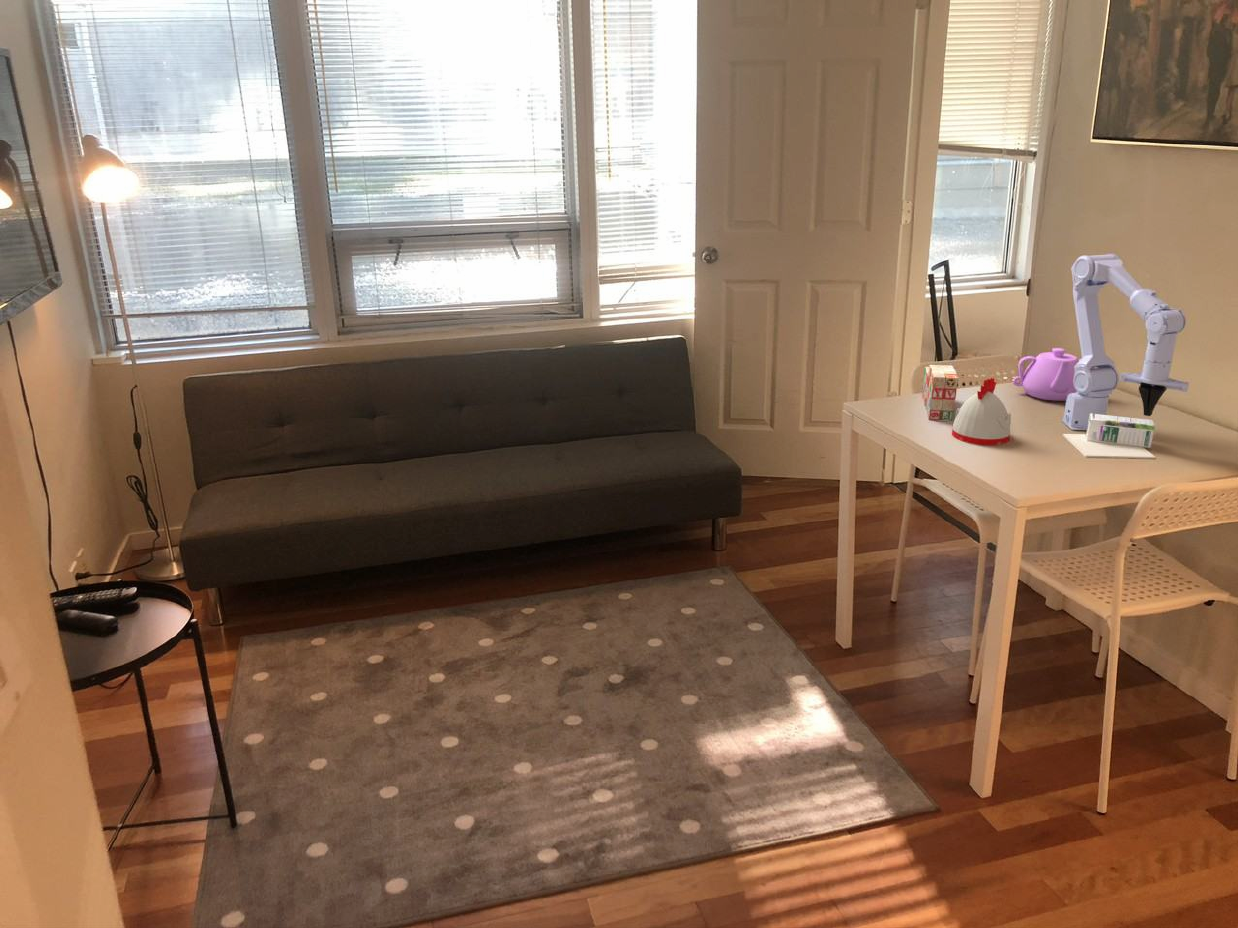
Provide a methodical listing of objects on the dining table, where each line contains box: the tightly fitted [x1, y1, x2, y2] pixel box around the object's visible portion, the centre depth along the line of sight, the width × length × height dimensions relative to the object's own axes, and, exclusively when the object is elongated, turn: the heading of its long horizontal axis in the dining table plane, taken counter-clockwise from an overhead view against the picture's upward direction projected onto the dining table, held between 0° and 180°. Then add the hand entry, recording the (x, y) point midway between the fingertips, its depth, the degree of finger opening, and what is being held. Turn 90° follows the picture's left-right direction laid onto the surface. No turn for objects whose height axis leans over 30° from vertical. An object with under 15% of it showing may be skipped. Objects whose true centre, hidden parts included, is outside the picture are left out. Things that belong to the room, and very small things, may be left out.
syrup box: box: [1085, 414, 1156, 449], centre depth 241 cm, size 6×6×14 cm
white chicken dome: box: [951, 377, 1012, 446], centre depth 245 cm, size 14×14×15 cm
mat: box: [1062, 433, 1156, 460], centre depth 240 cm, size 16×16×1 cm
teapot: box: [1012, 347, 1096, 402], centre depth 276 cm, size 22×22×14 cm
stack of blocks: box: [921, 364, 959, 422], centre depth 267 cm, size 21×6×12 cm, turn 169°
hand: (1147, 414), depth 236 cm, fingers closed
